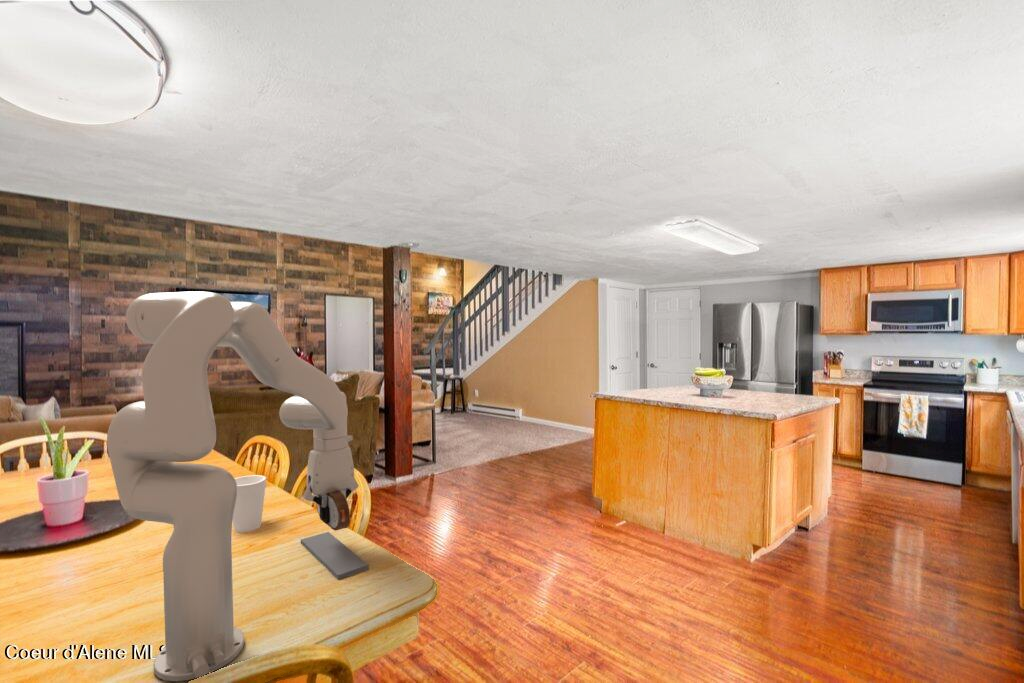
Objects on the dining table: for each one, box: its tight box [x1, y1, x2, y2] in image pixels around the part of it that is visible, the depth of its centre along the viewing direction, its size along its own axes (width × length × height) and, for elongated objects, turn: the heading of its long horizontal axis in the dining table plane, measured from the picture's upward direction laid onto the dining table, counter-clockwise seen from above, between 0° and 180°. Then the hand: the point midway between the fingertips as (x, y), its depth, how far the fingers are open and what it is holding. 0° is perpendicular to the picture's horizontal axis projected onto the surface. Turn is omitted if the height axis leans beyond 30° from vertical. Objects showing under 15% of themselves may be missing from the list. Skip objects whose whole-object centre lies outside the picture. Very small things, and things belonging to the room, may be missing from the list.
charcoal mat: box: [300, 531, 370, 580], centre depth 117 cm, size 24×7×1 cm, turn 41°
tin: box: [316, 491, 351, 532], centre depth 116 cm, size 15×3×8 cm, turn 41°
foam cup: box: [232, 474, 267, 533], centre depth 133 cm, size 10×9×13 cm
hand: (332, 519), depth 117 cm, fingers closed on tin, 2 cm apart
